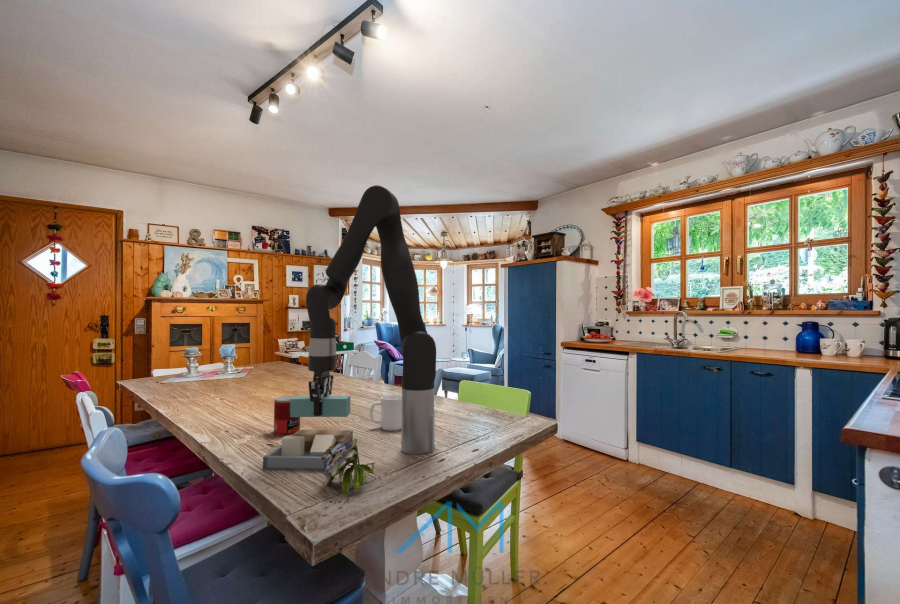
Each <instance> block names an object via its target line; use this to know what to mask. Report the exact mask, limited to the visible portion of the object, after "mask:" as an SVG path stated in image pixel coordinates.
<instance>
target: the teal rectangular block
mask: <svg viewBox="0 0 900 604" xmlns="http://www.w3.org/2000/svg"><path fill="white" fill-rule="evenodd" d="M295 396H296V397H294V398H292V399H290V417H300V418H347V417H348V416H349V415H350V414H351V396H350V395H329V396H323V401H322V415H321V416H314V402H313V401H310V395H306V396H305V395H301V396H298V395H295ZM316 397H317V395H316Z"/></svg>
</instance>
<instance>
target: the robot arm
mask: <svg viewBox="0 0 900 604" xmlns="http://www.w3.org/2000/svg"><path fill="white" fill-rule="evenodd" d="M375 228H376V232H377V234H378V237H379V242H380V243H379V244H380V268H381V275H382V279H383V283H384V285H385V289H386V292H387V295H388V298H389V301H390V304H391V306H392V309H393V312H394V314H395V317H396V320H397V321H396V322H397V326H398V332H399V339H400V348H401V352H402V376H401V377H402V378H401V395H402V417H401V429H400V430H401V433H400V435H401V437H400V438H401V439H400V440H401V441H400V444H401V447H400V449H401V451H402V452H403V453H405V454H408V455H425V454H429V453H434V450H435V441H436V440H435V439H436V435H435V434H436V432H435V430H436V429H435V428H436V426H435V423H436V419H435V418H436V417H435V416H436V415H435V414H436V413H435V381H436V375H437V344H436V342H435V340H434V338H433V336H431V335H430V334H429V333H428V331H427V328H426V326H425V322H424V319H423V315H422V312H421V306H420V303H421V302H420V291H419V283H418V277H417V275H416V271H415V266H414V263H413V259H412V257H411V252H410V250H409V247H408V245H407V241H406V238H405V234H404V230H403V223H402V217H401V210H400V204H399V201H398V199H397V197H396V195H395V194H394V193H392V192H391V191H390V190H389V189H388V188H387V187H385V186H383V185H380V184H375V185H372V186H369V187H367V189H366V190H365V191H364V192H363V194H362V196H361V199H360V200H359V203H358V206H357V209H356V211H355V213H354V216H353V218H352V221H351V223H350V225H349V228H348V230H347V231H346V234H345V235H344V238H343V240H342V242H341V243H340V245H339V247H338V249H337V250H336V252H335V253H334V256H333V257H332V259H331V260H330V262H329V264H328V265H327V266H326V267H327V268H326V270H325V274H326V277H328V279H327V282H326V283H325V284H324V285H323V284H321V283H320V284H313V285H312V286H310V287H309V288H308V290H307V291H306V296H305V305H306V309H307V310H306V311H307V316H308V319H309V320H308V321H309V322H310V323H309V324H310V329H309V330H310V331H309V343H308V365H307V368H308V369H307V370H308V371H309V372H313V375H312V376H313V377H312V381H308V392H309V396H310V401H313V402H314V416H321V415H322V401H323V396H332V393H333V392H332V391H333V383H334V375H333V374H330V372H332V371H335V370H336V366H337V364H336V363H337V344H336V343H337V341H336V336H337V334H336V331H337V326H336V325H337V324H336V320H335V319H334V318H332V317H331V315H330V310H333V309H335V308H336V307H338V305H340V303H341V302H342V300H343V298H344V295H345V293H346V290H347V287H348V282H349V281H350V279H351V277H352V276H353V274H354V273H355V271H356V269H357V267H358V265H360V263H361V259H362V257H363V254H364V252H365V247H366V245H367V242H368V240H369V237H370V236H371V235H372V233H373V231H374V230H375ZM316 396H317V397H316Z"/></svg>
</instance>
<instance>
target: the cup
mask: <svg viewBox="0 0 900 604" xmlns="http://www.w3.org/2000/svg"><path fill="white" fill-rule="evenodd" d="M376 406H380V419H375V417H374V410H375V407H376ZM401 417H402V394H387V395H382V396H381V397H380V401H375V402H373V403H371V406H370V410H369V418H370V420H371V422H373V424H377V425H379V424H380V427H381V429H382V430H385V431H400V430H401Z"/></svg>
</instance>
